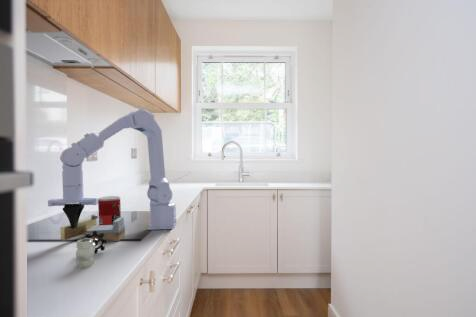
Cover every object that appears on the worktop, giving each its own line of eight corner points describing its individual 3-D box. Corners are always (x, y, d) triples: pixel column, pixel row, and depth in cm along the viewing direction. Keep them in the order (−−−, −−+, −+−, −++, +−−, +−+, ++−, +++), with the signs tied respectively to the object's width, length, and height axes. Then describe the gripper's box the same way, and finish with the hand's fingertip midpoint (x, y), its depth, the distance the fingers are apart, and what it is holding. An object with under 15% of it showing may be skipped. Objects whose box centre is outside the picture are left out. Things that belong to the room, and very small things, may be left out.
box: (125, 235, 105) (124, 227, 105) (118, 241, 98) (118, 233, 98) (94, 236, 104) (94, 228, 104) (86, 242, 97) (86, 234, 97)
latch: (99, 229, 108) (98, 215, 108) (65, 240, 95) (64, 224, 94) (94, 228, 108) (94, 214, 108) (60, 240, 95) (59, 224, 95)
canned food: (116, 228, 114) (115, 199, 114) (95, 228, 114) (94, 199, 114) (124, 223, 122) (123, 195, 121) (104, 223, 122) (103, 196, 121)
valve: (97, 267, 76) (108, 251, 88) (96, 241, 76) (107, 229, 88) (68, 270, 75) (83, 253, 87) (67, 243, 75) (82, 230, 86)
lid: (124, 227, 104) (124, 217, 104) (118, 232, 98) (118, 221, 98) (94, 228, 104) (94, 218, 103) (86, 233, 97) (86, 222, 97)
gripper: (42, 187, 92) (43, 232, 92) (91, 186, 93) (93, 230, 94) (54, 184, 99) (55, 226, 99) (100, 183, 100) (101, 224, 101)
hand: (74, 227), depth 97 cm, fingers closed
